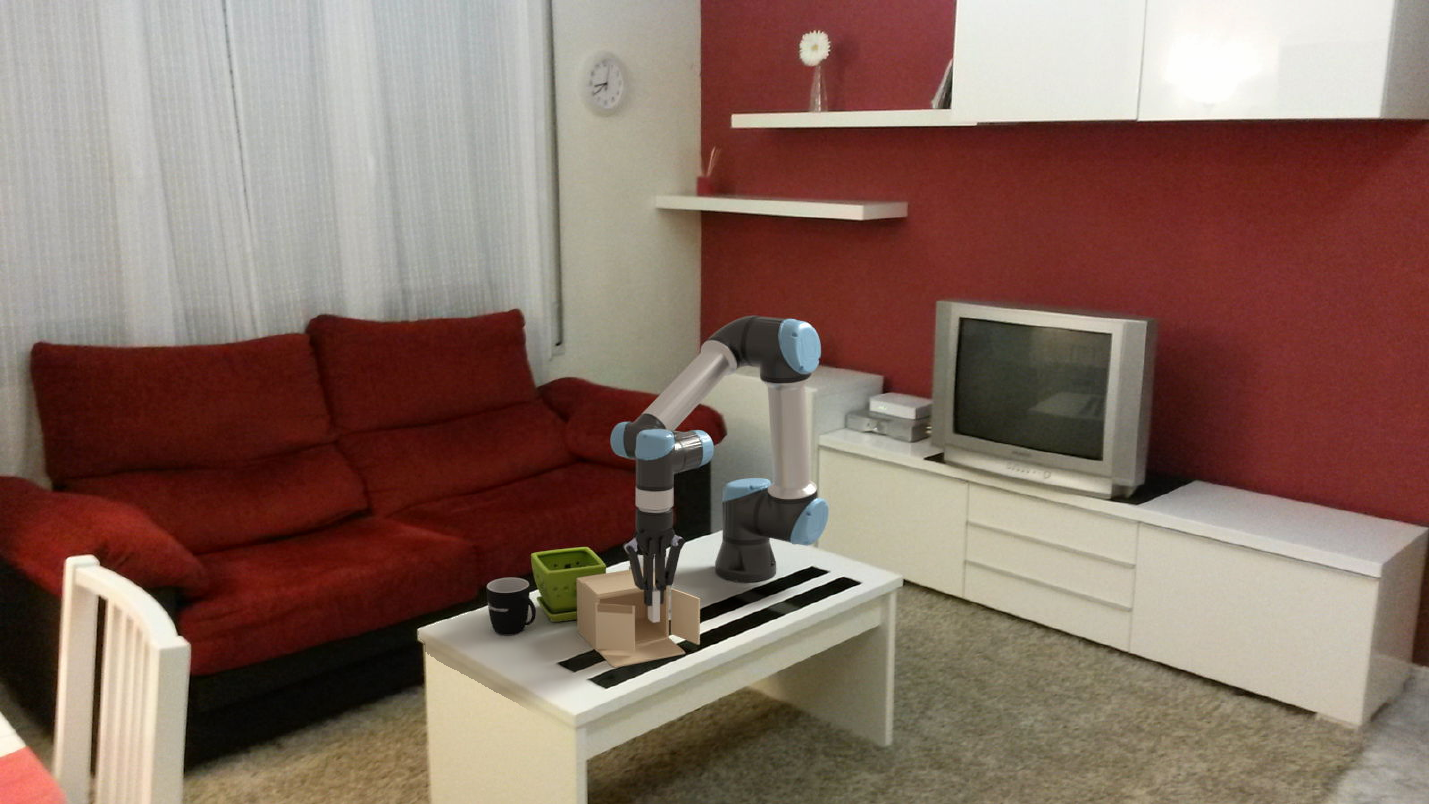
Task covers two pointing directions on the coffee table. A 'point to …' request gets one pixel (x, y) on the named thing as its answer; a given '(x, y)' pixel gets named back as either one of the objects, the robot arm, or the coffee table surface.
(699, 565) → the coffee table surface
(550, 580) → the flower pot
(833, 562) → the coffee table surface
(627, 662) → the carton
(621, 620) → the flap
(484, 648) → the coffee table surface
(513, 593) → the mug
